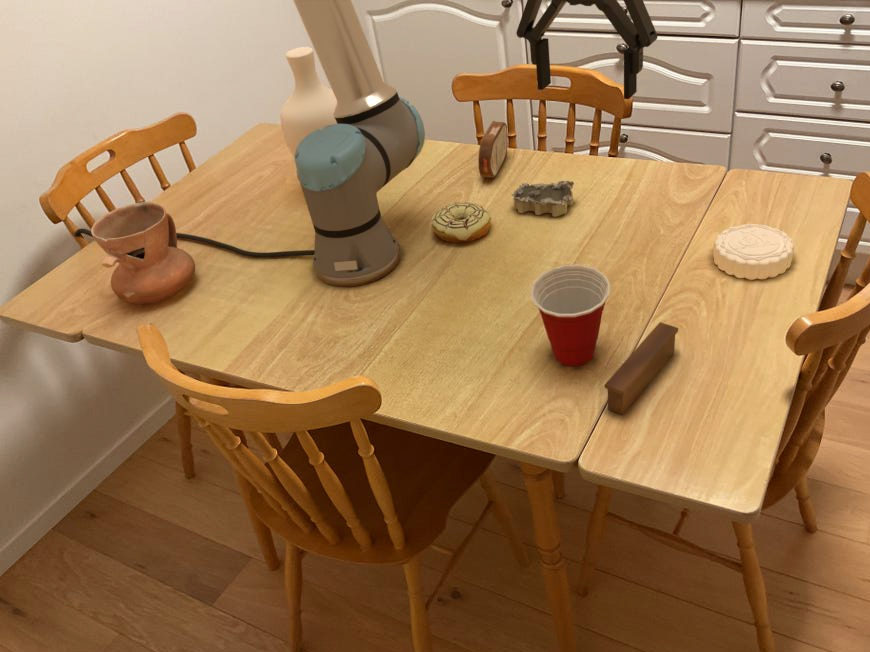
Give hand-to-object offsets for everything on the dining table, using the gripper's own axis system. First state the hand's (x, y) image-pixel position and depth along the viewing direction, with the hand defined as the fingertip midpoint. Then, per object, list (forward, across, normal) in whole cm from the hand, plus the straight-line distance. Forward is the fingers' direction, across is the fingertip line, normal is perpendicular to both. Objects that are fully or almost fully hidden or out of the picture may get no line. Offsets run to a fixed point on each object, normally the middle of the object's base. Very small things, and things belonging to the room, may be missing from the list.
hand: (586, 91), depth 112 cm
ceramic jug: (+29, +68, +36) cm, 82 cm away
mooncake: (+29, -24, -9) cm, 39 cm away
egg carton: (+29, +16, -13) cm, 35 cm away
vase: (+29, +62, -6) cm, 69 cm away
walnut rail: (+29, -19, +25) cm, 43 cm away
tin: (+29, +33, -24) cm, 50 cm away
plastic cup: (+29, -8, +24) cm, 38 cm away
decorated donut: (+29, +26, 0) cm, 39 cm away
